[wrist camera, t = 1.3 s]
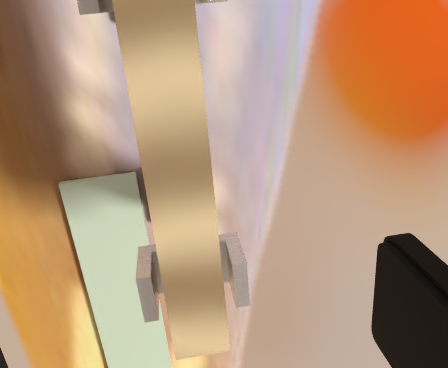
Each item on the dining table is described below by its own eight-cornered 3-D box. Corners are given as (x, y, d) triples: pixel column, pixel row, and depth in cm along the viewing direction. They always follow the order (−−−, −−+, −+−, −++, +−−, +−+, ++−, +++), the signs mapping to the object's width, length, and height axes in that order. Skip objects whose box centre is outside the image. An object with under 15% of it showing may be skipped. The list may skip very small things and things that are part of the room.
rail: (102, -108, 17) (87, -139, 13) (175, -113, 17) (179, -144, 14) (173, 310, 26) (175, 359, 22) (220, 302, 26) (230, 350, 23)
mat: (59, 181, 33) (58, 184, 32) (135, 171, 33) (135, 174, 33) (115, 385, 42) (114, 390, 41) (173, 375, 43) (173, 379, 42)
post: (141, 170, 33) (132, 263, 21) (214, 161, 34) (245, 246, 22) (151, 224, 35) (147, 336, 23) (220, 214, 36) (250, 318, 24)
